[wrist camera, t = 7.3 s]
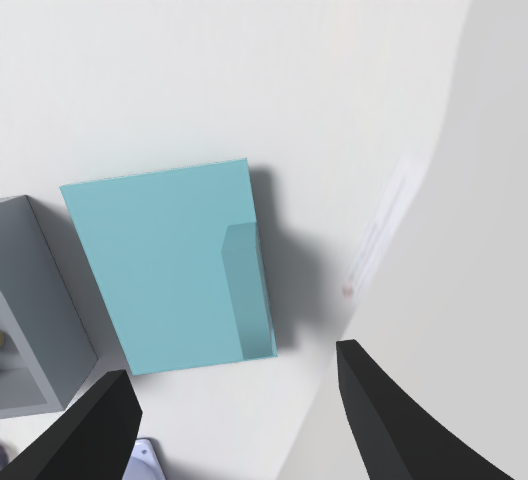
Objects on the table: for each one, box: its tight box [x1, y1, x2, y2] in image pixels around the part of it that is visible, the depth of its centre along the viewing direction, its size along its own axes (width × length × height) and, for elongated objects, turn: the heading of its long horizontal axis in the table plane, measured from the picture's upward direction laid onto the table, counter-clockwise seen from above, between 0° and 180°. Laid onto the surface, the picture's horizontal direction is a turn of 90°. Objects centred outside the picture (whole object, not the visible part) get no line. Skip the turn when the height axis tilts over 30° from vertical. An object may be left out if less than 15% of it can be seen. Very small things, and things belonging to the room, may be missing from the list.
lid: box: [60, 158, 278, 376], centre depth 16 cm, size 13×10×5 cm
